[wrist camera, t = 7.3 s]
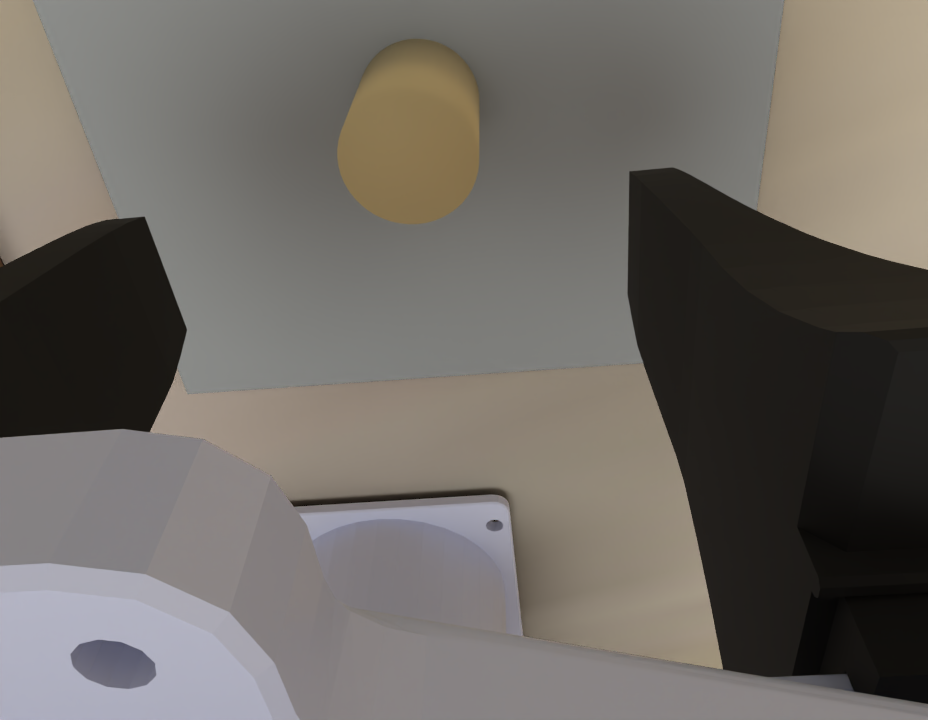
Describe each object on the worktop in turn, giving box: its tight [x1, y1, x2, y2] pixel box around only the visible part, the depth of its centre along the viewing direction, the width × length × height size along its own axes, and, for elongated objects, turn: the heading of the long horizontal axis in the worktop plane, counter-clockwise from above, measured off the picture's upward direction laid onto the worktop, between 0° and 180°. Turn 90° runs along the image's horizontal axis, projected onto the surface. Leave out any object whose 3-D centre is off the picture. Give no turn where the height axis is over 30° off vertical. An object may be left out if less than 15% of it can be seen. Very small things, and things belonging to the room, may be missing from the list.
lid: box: [33, 0, 784, 394], centre depth 16 cm, size 15×15×4 cm
